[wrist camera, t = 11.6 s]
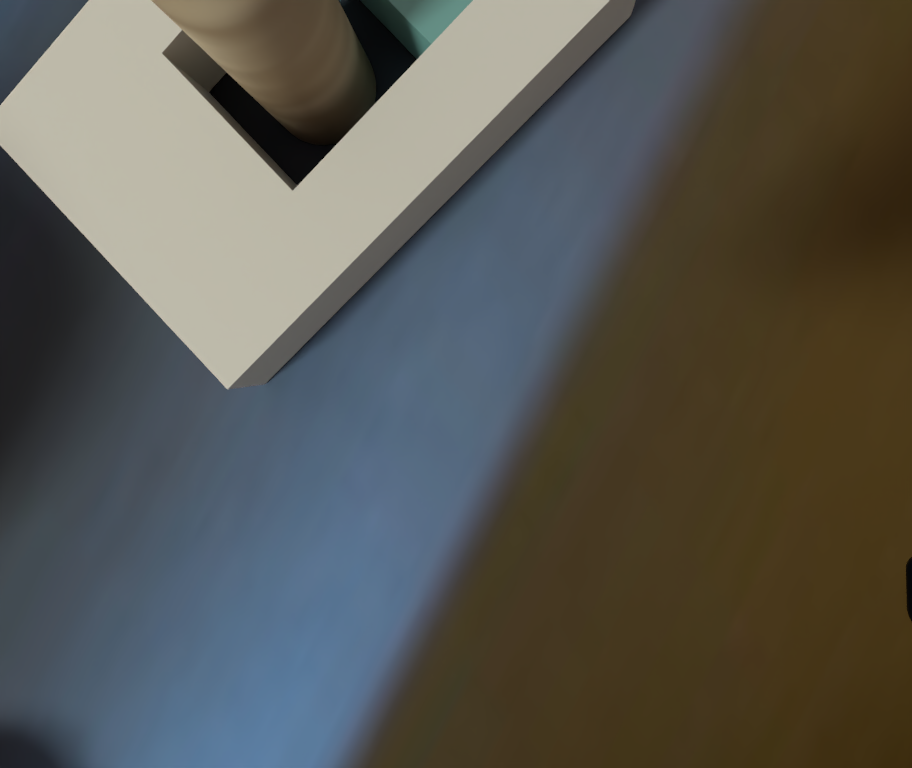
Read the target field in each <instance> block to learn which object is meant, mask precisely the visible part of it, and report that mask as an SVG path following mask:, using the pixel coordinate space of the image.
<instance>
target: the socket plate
mask: <svg viewBox="0 0 912 768" xmlns="http://www.w3.org/2000/svg"><path fill="white" fill-rule="evenodd" d="M360 1H361V2H362V3H363V4H364V5H365V6H366V7H367V8H368V9H369V10H370V11H371V12H372V13H373V14H374V15H375V16H376V18H377V19H378V20H379V21H380V22H381V23H382V24H383V25H384V26H385V27H386V28H387V29H388V30H389V31H390V32H391V33H392V34H393V35H394V36H395V37H396V38H397V39H398V40H399V41H400V42H401V43H402V44H403V45H404V47H405V48H406V49H407V50H408V51H409V52H410V53H411V54H412V55H413V56H414V57H415V58H416V59H417V60H416V61H415V62H414V63H413V64H412V65H411V66H410V67H409V68H408V69H407V71H406V72H405V73H404V74H403V75H402V76H401V77H400V78H399V79H398V80H397V81H396V82H395V83H394V84H393V85H392V86H391V87H390V88H389V90H388V91H387V92H386V93H385V94H384V95H383V96H382V97H381V98H380V99H379V100H378V101H377V102H376V103H375V104H374V105H373V106H372V107H371V109H370V110H369V111H368V112H367V113H366V114H365V115H364V116H363V117H362V118H361V119H360V120H359V121H358V122H357V123H356V124H355V125H354V127H353V128H352V129H351V130H350V131H349V132H348V133H347V134H346V135H345V136H344V137H343V138H342V139H341V140H340V141H339V142H338V143H337V144H336V146H335V147H334V148H333V149H332V150H331V151H330V152H329V153H328V154H327V155H326V156H325V157H324V158H323V159H322V160H321V161H320V162H319V163H318V165H317V166H316V167H315V168H314V169H313V170H312V171H311V172H310V173H309V174H308V175H307V176H306V177H305V178H304V179H303V180H302V181H301V182H300V184H299V185H298V186H297V185H296V184H295V183H294V181H293V180H292V179H291V178H290V177H289V176H288V175H287V174H286V173H285V172H284V171H283V170H282V169H281V168H280V167H279V166H278V165H277V164H276V162H275V161H274V160H273V159H272V158H271V157H270V156H269V155H268V154H267V153H266V152H265V151H264V150H263V149H262V148H261V147H260V146H259V145H258V144H257V142H256V141H255V140H254V139H253V138H252V137H251V136H250V135H249V134H248V133H247V132H246V131H245V130H244V129H243V128H242V127H241V126H240V125H239V124H238V122H237V121H236V120H235V119H234V118H233V117H232V116H231V115H230V114H229V113H228V112H227V111H226V110H225V109H224V108H223V107H222V106H221V105H220V103H219V102H218V101H217V100H216V99H215V98H214V97H213V96H212V95H211V94H210V93H209V92H210V91H211V89H212V88H213V87H214V86H215V85H216V84H217V83H218V82H219V80H220V79H221V78H222V77H223V76H224V75H225V74H226V73H227V72H226V71H225V70H224V69H223V68H222V67H221V66H220V65H218V64H217V63H216V62H215V61H214V60H213V59H212V58H211V57H210V56H209V55H208V54H207V53H206V52H205V51H204V50H203V49H202V48H201V47H200V46H199V45H198V44H196V43H195V42H194V41H193V40H192V39H191V38H190V37H189V36H188V35H187V34H186V33H185V32H184V31H183V30H182V29H181V28H180V27H179V26H178V25H177V24H175V23H174V22H173V21H172V20H171V19H170V18H169V17H168V16H167V15H166V14H165V13H164V12H163V11H162V10H161V9H160V8H159V7H158V6H157V5H156V4H154V3H153V2H152V1H151V0H89V1H88V2H87V3H86V5H85V6H84V7H83V8H82V9H81V10H80V12H79V13H78V14H77V15H76V16H75V18H74V19H73V20H72V21H71V22H70V23H69V25H68V26H67V27H66V28H65V29H64V31H63V32H62V33H61V34H60V35H59V36H58V38H57V39H56V40H55V41H54V42H53V44H52V45H51V46H50V47H49V48H48V49H47V51H46V52H45V53H44V54H43V55H42V57H41V58H40V59H39V60H38V61H37V62H36V64H35V65H34V66H33V67H32V68H31V70H30V71H29V72H28V73H27V74H26V76H25V77H24V78H23V79H22V80H21V81H20V83H19V84H18V85H17V86H16V87H15V89H14V90H13V91H12V92H11V93H10V94H9V96H8V97H7V98H6V99H5V100H4V102H3V103H2V104H1V105H0V146H1V147H2V148H3V149H4V150H5V151H6V152H7V153H8V154H9V155H10V156H11V157H12V158H13V160H14V161H15V162H16V163H17V164H18V165H19V166H20V167H21V168H22V169H23V170H24V171H25V172H26V174H27V175H28V176H29V177H30V178H31V179H32V180H33V181H34V182H35V183H36V184H37V185H38V186H39V187H40V189H41V190H42V191H43V192H44V193H45V194H46V195H47V196H48V197H49V198H50V199H51V200H52V201H53V203H54V204H55V205H56V206H57V207H58V208H59V209H60V210H61V211H62V212H63V213H64V214H65V215H66V216H67V218H68V219H69V220H70V221H71V222H72V223H73V224H74V225H75V226H76V227H77V228H78V229H79V230H80V232H81V233H82V234H83V235H84V236H85V237H86V238H87V239H88V240H89V241H90V242H91V243H92V244H93V245H94V247H95V248H96V249H97V250H98V251H99V252H100V253H101V254H102V255H103V256H104V257H105V258H106V259H107V261H108V262H109V263H110V264H111V265H112V266H113V267H114V268H115V269H116V270H117V271H118V272H119V273H120V274H121V276H122V277H123V278H124V279H125V280H126V281H127V282H128V283H129V284H130V285H131V286H132V287H133V288H134V290H135V291H136V292H137V293H138V294H139V295H140V296H141V297H142V298H143V299H144V300H145V301H146V302H147V303H148V305H149V306H150V307H151V308H152V309H153V310H154V311H155V312H156V313H157V314H158V315H159V316H160V317H161V319H162V320H163V321H164V322H165V323H166V324H167V325H168V326H169V327H170V328H171V329H172V330H173V331H174V332H175V334H176V335H177V336H178V337H179V338H180V339H181V340H182V341H183V342H184V343H185V344H186V345H187V346H188V348H189V349H190V350H191V351H192V352H193V353H194V354H195V355H196V356H197V357H198V358H199V359H200V360H201V362H202V363H203V364H204V365H205V366H206V367H207V368H208V369H209V370H210V371H211V372H212V373H213V374H214V375H215V377H216V378H217V379H218V380H219V381H220V382H221V383H222V384H223V385H224V386H225V387H226V388H227V389H234V388H241V387H248V386H256V385H263V384H266V383H267V382H268V381H269V380H270V379H271V378H272V377H273V376H274V375H275V374H276V373H277V372H278V371H279V370H280V369H281V368H282V367H283V366H284V365H285V364H286V363H287V362H288V361H289V360H290V359H291V358H292V357H293V356H294V355H295V354H296V353H297V352H298V351H299V350H300V349H301V347H302V346H303V345H304V344H305V343H306V342H307V341H308V340H309V339H310V338H311V337H312V336H313V335H314V334H315V333H316V332H317V331H318V330H319V329H320V328H321V327H322V326H323V325H324V324H325V323H326V322H327V321H328V320H329V319H330V318H331V317H332V316H333V315H334V314H335V313H336V312H337V311H338V310H339V309H340V308H341V307H342V306H343V305H344V304H345V303H346V302H347V301H348V300H349V299H350V298H351V297H352V296H353V295H354V294H355V293H356V292H357V291H358V290H359V289H360V288H361V287H362V286H363V285H364V284H365V283H366V282H367V281H368V280H369V279H370V278H371V277H372V276H373V275H374V274H375V273H376V272H377V271H378V270H379V269H380V268H381V267H382V266H383V265H384V264H385V263H386V262H387V261H388V260H389V259H390V258H391V257H392V256H393V255H394V254H395V253H396V252H397V251H398V250H399V249H400V248H401V247H402V246H403V245H404V244H405V243H406V242H407V241H408V240H409V239H410V238H411V237H412V236H413V235H414V234H415V233H416V232H417V231H418V230H419V229H420V228H421V227H422V226H423V225H424V224H425V223H426V222H427V221H428V220H429V219H430V218H431V217H432V216H433V214H434V213H435V212H436V211H437V210H438V209H439V208H440V207H441V206H442V205H443V204H444V203H445V202H446V201H447V200H448V199H449V198H450V197H451V196H452V195H453V194H454V193H455V192H456V191H457V190H458V189H459V188H460V187H461V186H462V185H463V184H464V183H465V182H466V181H467V180H468V179H469V178H470V177H471V176H472V175H473V174H474V173H475V172H476V171H477V170H478V169H479V168H480V167H481V166H482V165H483V164H484V163H485V162H486V161H487V160H488V159H489V158H490V157H491V156H492V155H493V154H494V153H495V152H496V151H497V150H498V149H499V148H500V147H501V146H502V145H503V144H504V143H505V142H506V141H507V140H508V139H509V138H510V137H511V136H512V135H513V134H514V133H515V132H516V131H517V130H518V129H519V128H520V127H521V126H522V125H523V124H524V123H525V122H526V121H527V120H528V119H529V118H530V117H531V116H532V115H533V114H534V113H535V112H536V111H537V110H538V109H539V108H540V107H541V106H542V105H543V104H544V103H545V102H546V101H547V100H548V99H549V98H550V97H551V96H552V95H553V94H554V93H555V92H556V91H557V90H558V89H559V88H560V87H561V86H562V85H563V84H564V83H565V82H566V80H567V79H568V78H569V77H570V76H571V75H572V74H573V73H574V72H575V71H576V70H577V69H578V68H579V67H580V66H581V65H582V64H583V63H584V62H585V61H586V60H587V59H588V58H589V57H590V56H591V55H592V54H593V53H594V52H595V51H596V50H597V49H598V48H599V47H600V46H601V45H602V44H603V43H604V42H605V41H606V40H607V39H608V38H609V37H610V36H611V35H612V34H613V33H614V32H615V31H616V30H617V29H618V28H619V27H620V26H621V25H622V24H623V23H624V22H625V21H626V20H627V19H628V18H629V17H630V16H631V13H632V10H633V7H634V4H635V2H636V0H360Z"/></svg>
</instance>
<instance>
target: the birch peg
mask: <svg viewBox="0 0 912 768" xmlns="http://www.w3.org/2000/svg"><path fill="white" fill-rule="evenodd" d="M151 1H152V2H153V3H154V4H156V5H157V6H158V7H159V8H160V9H161V10H162V11H163V12H164V13H165V14H166V15H167V16H168V17H169V18H170V19H171V20H172V21H173V22H174V23H175V24H177V25H178V26H179V27H180V28H181V29H182V30H183V31H184V32H185V33H186V34H187V35H188V36H189V37H190V38H191V39H192V40H193V41H194V42H195V43H196V44H198V45H199V46H200V47H201V48H202V49H203V50H204V51H205V52H206V53H207V54H208V55H209V56H210V57H211V58H212V59H213V60H214V61H215V62H216V63H217V64H218V65H220V66H221V67H222V68H223V69H224V70H225V71H226V72H227V73H228V74H229V75H230V76H231V77H232V78H233V79H234V80H235V81H236V82H237V83H238V84H239V85H241V86H242V87H243V88H244V89H245V90H246V91H247V92H248V93H249V94H250V95H251V96H252V97H253V98H254V99H255V100H256V101H257V102H258V103H259V104H260V105H261V106H263V107H264V108H265V109H266V110H267V111H268V112H269V113H270V114H271V115H272V116H273V117H274V118H275V119H276V120H277V121H278V122H279V123H280V124H281V125H282V126H284V127H285V128H286V129H287V130H288V131H289V132H290V133H291V134H292V135H294V136H295V137H296V138H298V139H300V140H302V141H304V142H307V143H310V144H314V145H331V144H336V143H338V142H339V141H340V140H341V139H342V138H343V137H344V136H345V135H346V134H347V133H348V132H349V131H350V130H351V129H352V128H353V127H354V125H355V124H356V123H357V122H358V121H359V120H360V119H361V118H362V117H363V116H364V115H365V114H366V113H367V112H368V111H369V110H370V109H371V107H372V106H373V105H374V103H375V98H376V79H375V74H374V71H373V68H372V65H371V63H370V61H369V59H368V57H367V55H366V53H365V51H364V49H363V47H362V45H361V43H360V42H359V40H358V38H357V36H356V34H355V32H354V30H353V28H352V26H351V24H350V22H349V20H348V18H347V16H346V14H345V12H344V10H343V8H342V6H341V4H340V3H339V1H338V0H151Z"/></svg>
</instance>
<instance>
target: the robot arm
mask: <svg viewBox="0 0 912 768" xmlns="http://www.w3.org/2000/svg"><path fill="white" fill-rule="evenodd" d="M906 589H907V611H908V614H909V617H910V619H911V621H912V557H911V558H910V559H909V560H908V562H907V564H906Z"/></svg>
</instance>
